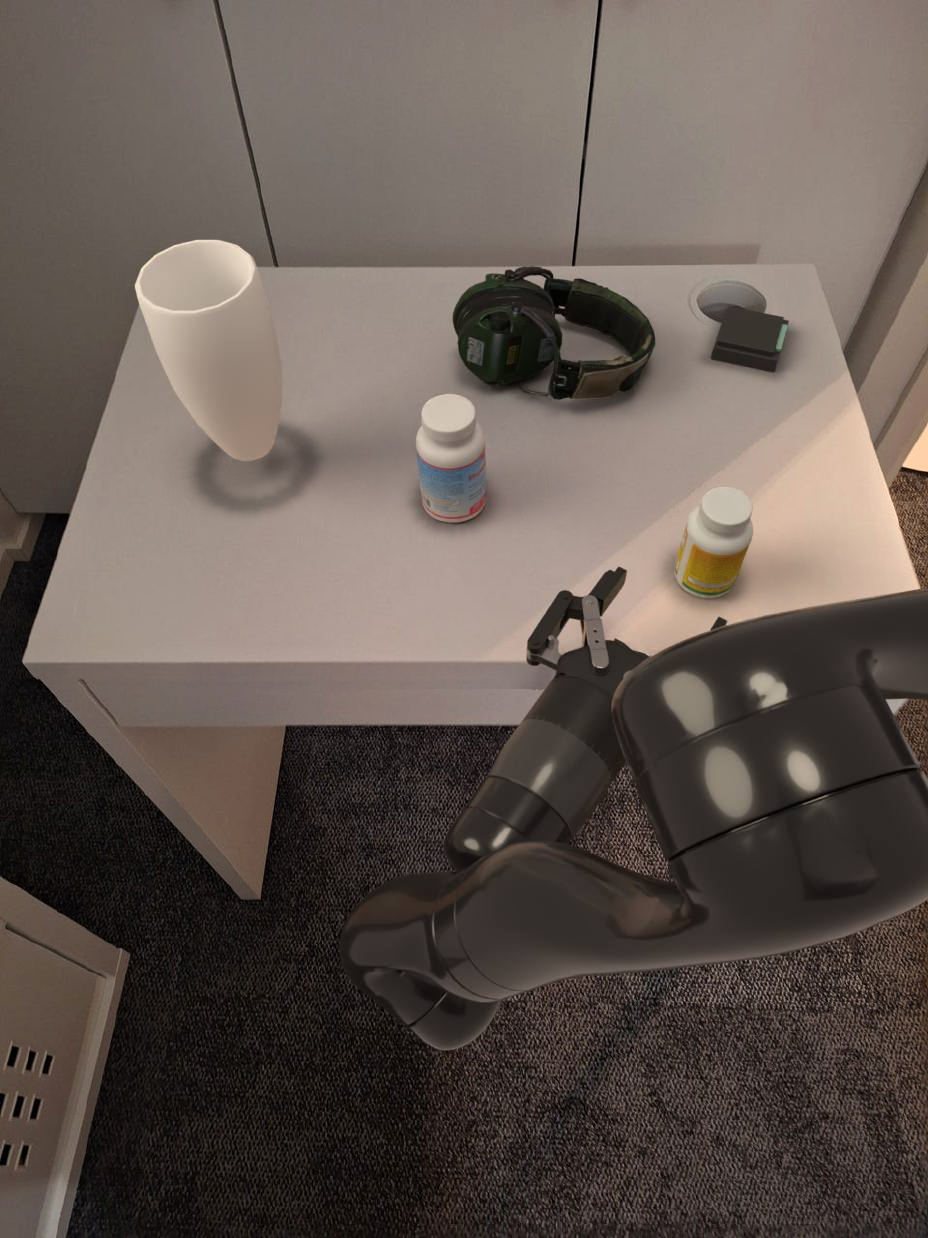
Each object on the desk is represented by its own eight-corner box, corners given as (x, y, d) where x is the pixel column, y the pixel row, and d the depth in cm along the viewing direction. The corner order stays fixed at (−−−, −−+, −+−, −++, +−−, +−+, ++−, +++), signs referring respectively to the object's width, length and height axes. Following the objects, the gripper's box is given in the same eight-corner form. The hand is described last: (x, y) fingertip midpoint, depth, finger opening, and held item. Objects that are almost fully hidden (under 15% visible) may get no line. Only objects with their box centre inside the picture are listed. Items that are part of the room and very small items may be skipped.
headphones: (471, 398, 86) (672, 396, 89) (469, 247, 83) (675, 252, 87) (447, 405, 99) (623, 404, 102) (444, 275, 96) (625, 278, 100)
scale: (785, 332, 98) (790, 315, 96) (774, 372, 94) (779, 355, 93) (723, 320, 99) (727, 302, 97) (710, 359, 96) (714, 342, 94)
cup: (327, 476, 89) (283, 286, 71) (228, 521, 86) (156, 335, 68) (283, 412, 94) (231, 220, 76) (187, 453, 91) (110, 263, 73)
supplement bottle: (663, 561, 82) (680, 489, 74) (716, 544, 82) (739, 471, 74) (691, 608, 79) (713, 538, 71) (747, 589, 80) (774, 518, 72)
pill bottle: (486, 525, 85) (484, 437, 75) (420, 525, 85) (410, 439, 75) (486, 476, 88) (484, 386, 79) (423, 477, 88) (414, 387, 79)
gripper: (661, 790, 58) (768, 613, 65) (475, 682, 63) (594, 528, 70) (645, 832, 64) (745, 666, 71) (478, 731, 69) (587, 585, 76)
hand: (670, 598), depth 71 cm, fingers open, 8 cm apart
